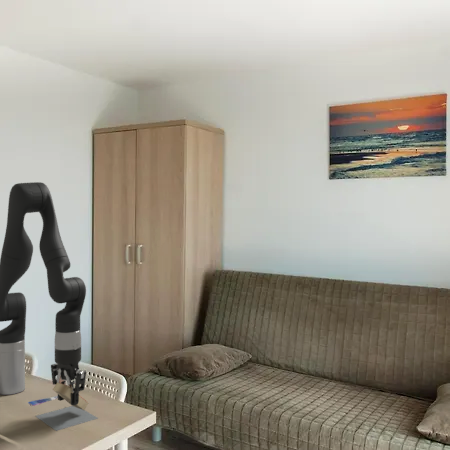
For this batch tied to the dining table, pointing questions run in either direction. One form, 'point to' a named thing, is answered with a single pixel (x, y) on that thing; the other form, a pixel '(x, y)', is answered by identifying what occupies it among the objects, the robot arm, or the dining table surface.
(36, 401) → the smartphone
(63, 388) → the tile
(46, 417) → the mat
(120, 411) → the dining table surface
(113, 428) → the dining table surface
